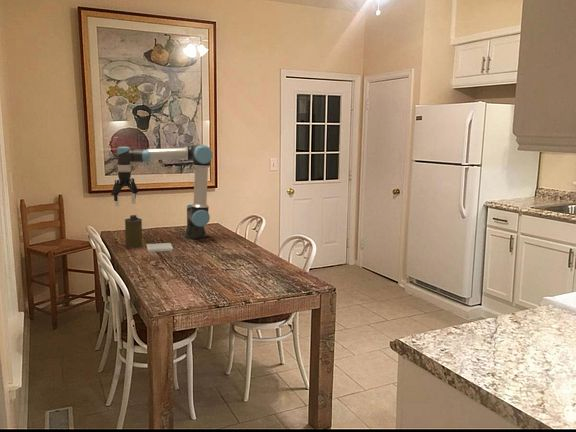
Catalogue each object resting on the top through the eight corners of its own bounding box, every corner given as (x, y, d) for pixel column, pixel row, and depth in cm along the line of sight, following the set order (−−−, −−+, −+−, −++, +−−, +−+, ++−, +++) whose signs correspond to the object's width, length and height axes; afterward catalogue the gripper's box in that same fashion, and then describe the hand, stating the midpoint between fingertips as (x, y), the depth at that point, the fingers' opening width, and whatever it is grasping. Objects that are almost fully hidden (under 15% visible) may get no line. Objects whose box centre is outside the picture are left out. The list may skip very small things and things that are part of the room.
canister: (139, 248, 306) (138, 217, 303) (123, 247, 307) (122, 216, 303) (144, 244, 317) (144, 214, 314) (129, 243, 317) (128, 213, 314)
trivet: (170, 245, 317) (170, 242, 317) (173, 250, 303) (172, 248, 303) (146, 246, 312) (146, 243, 312) (147, 252, 298) (147, 249, 298)
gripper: (134, 169, 319) (135, 202, 322) (104, 172, 297) (105, 206, 301) (143, 170, 315) (144, 203, 319) (112, 173, 294) (114, 207, 297)
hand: (125, 204), depth 310 cm, fingers open, 13 cm apart
